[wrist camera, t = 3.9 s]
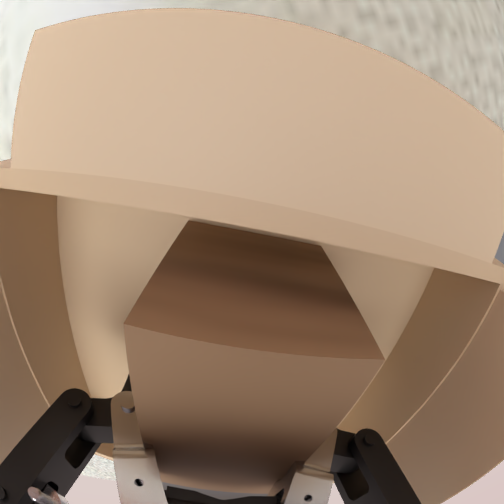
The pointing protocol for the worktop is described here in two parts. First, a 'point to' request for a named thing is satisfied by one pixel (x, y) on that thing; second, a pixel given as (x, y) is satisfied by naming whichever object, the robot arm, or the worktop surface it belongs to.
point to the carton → (255, 212)
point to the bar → (243, 358)
